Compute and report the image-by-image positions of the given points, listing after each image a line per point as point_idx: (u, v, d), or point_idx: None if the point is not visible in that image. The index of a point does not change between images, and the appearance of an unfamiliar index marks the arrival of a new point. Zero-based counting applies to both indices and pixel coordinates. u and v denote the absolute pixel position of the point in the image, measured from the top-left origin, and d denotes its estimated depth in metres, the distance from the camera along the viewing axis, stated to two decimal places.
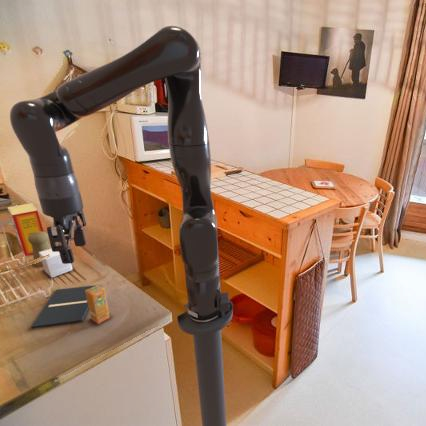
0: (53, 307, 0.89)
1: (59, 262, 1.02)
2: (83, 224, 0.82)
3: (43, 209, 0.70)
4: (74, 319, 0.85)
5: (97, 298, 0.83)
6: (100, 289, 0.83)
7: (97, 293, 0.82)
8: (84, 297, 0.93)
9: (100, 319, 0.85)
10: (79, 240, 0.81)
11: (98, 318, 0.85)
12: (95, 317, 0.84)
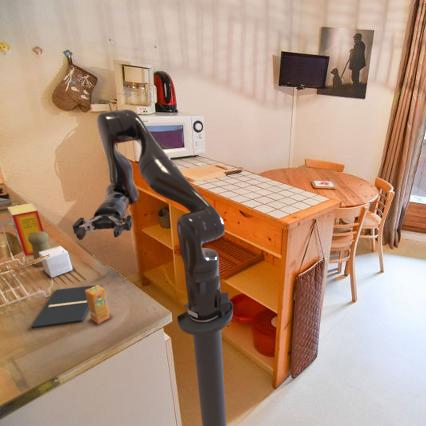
0: (53, 307, 0.89)
1: (59, 262, 1.02)
2: (125, 223, 0.94)
3: None
4: (74, 319, 0.85)
5: (97, 298, 0.83)
6: (100, 289, 0.83)
7: (97, 293, 0.82)
8: (84, 297, 0.93)
9: (100, 319, 0.85)
10: None
11: (98, 318, 0.85)
12: (95, 317, 0.84)
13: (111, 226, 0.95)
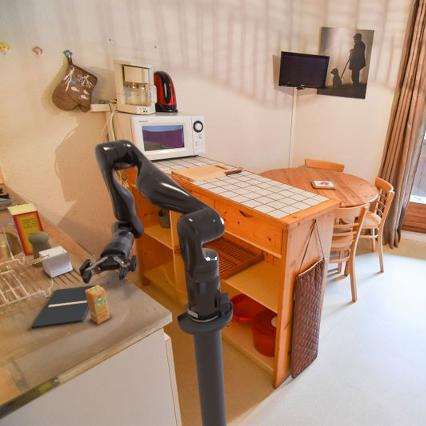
0: (53, 307, 0.89)
1: (59, 262, 1.02)
2: (130, 264, 0.96)
3: None
4: (74, 319, 0.85)
5: (97, 298, 0.83)
6: (100, 289, 0.83)
7: (97, 293, 0.82)
8: (84, 297, 0.93)
9: (100, 319, 0.85)
10: None
11: (98, 318, 0.85)
12: (95, 317, 0.84)
13: (116, 267, 0.96)
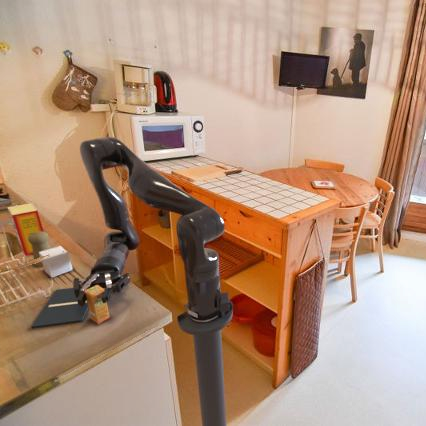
0: (53, 307, 0.89)
1: (59, 262, 1.02)
2: (115, 284, 0.87)
3: None
4: (74, 319, 0.85)
5: (96, 298, 0.83)
6: (99, 289, 0.83)
7: (96, 293, 0.82)
8: None
9: (100, 319, 0.85)
10: None
11: (98, 318, 0.85)
12: (95, 317, 0.84)
13: (104, 286, 0.88)
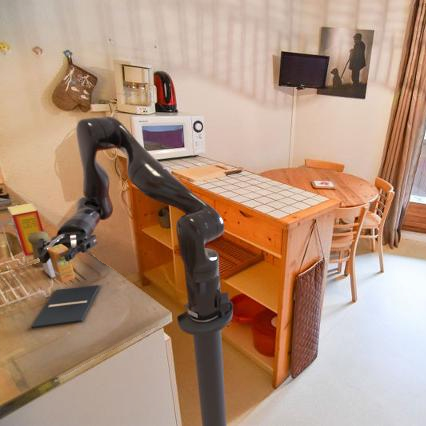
0: (53, 307, 0.89)
1: None
2: (80, 244, 0.86)
3: None
4: (74, 319, 0.85)
5: (60, 256, 0.82)
6: (63, 248, 0.82)
7: (59, 251, 0.82)
8: (84, 297, 0.93)
9: (64, 278, 0.85)
10: None
11: (63, 278, 0.84)
12: (59, 276, 0.84)
13: (70, 246, 0.87)
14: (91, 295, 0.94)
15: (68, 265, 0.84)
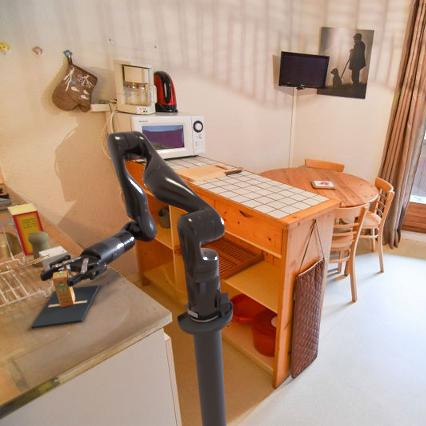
0: (53, 307, 0.89)
1: None
2: None
3: None
4: (74, 319, 0.85)
5: (58, 283, 0.86)
6: (63, 276, 0.86)
7: (58, 278, 0.85)
8: (84, 297, 0.93)
9: (63, 303, 0.89)
10: None
11: (61, 302, 0.88)
12: None
13: None
14: (91, 295, 0.94)
15: (67, 292, 0.88)
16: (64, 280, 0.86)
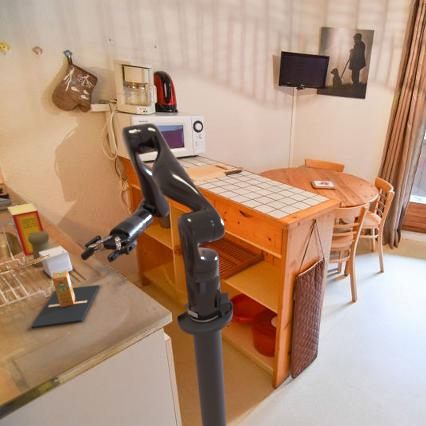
0: (53, 307, 0.89)
1: (59, 262, 1.02)
2: (124, 247, 0.99)
3: None
4: (74, 319, 0.85)
5: (58, 283, 0.86)
6: (63, 276, 0.86)
7: (58, 278, 0.85)
8: (84, 297, 0.93)
9: (63, 303, 0.89)
10: None
11: (61, 302, 0.88)
12: None
13: (116, 248, 1.01)
14: (91, 295, 0.94)
15: (67, 292, 0.88)
16: (64, 280, 0.86)
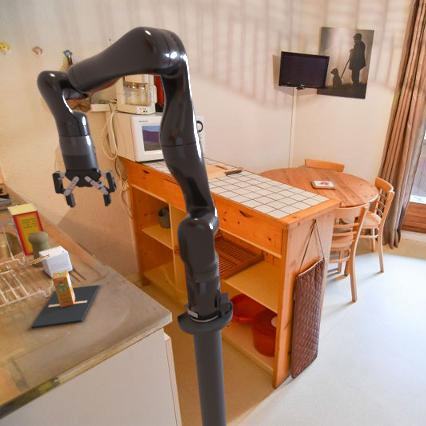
0: (53, 307, 0.89)
1: (59, 262, 1.02)
2: (110, 189, 0.91)
3: None
4: (74, 319, 0.85)
5: (58, 283, 0.86)
6: (63, 276, 0.86)
7: (58, 278, 0.85)
8: (84, 297, 0.93)
9: (63, 303, 0.89)
10: None
11: (61, 302, 0.88)
12: None
13: None
14: (91, 295, 0.94)
15: (67, 292, 0.88)
16: (64, 280, 0.86)
